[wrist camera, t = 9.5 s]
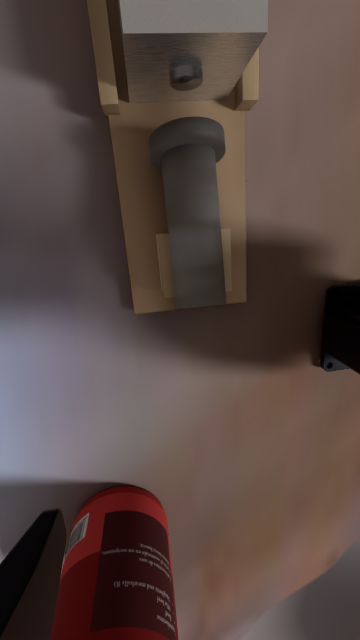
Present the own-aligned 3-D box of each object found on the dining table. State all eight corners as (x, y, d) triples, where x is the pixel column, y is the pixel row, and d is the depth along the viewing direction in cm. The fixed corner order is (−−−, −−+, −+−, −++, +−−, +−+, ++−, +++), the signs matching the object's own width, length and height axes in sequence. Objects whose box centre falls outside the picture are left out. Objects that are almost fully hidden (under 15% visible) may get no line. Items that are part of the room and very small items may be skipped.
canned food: (83, 561, 24) (38, 814, 13) (64, 491, 21) (-8, 734, 11) (170, 544, 25) (192, 769, 14) (162, 474, 22) (180, 685, 12)
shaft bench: (239, -384, 11) (331, -965, 5) (243, 298, 19) (282, 321, 14) (33, -417, 10) (-85, -1136, 5) (132, 310, 18) (128, 339, 13)
